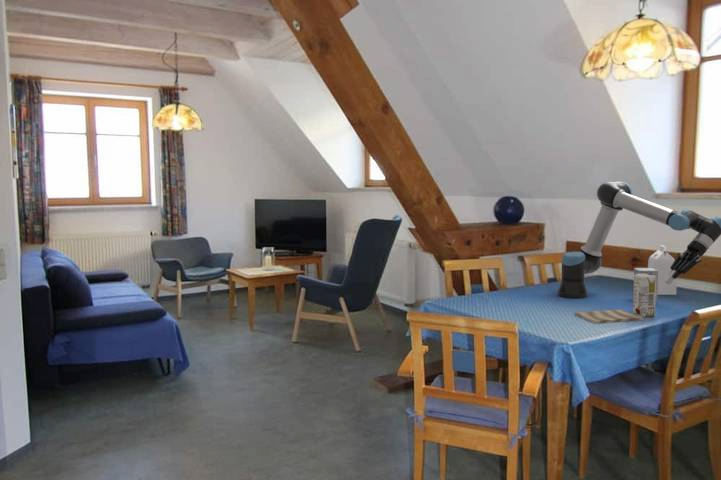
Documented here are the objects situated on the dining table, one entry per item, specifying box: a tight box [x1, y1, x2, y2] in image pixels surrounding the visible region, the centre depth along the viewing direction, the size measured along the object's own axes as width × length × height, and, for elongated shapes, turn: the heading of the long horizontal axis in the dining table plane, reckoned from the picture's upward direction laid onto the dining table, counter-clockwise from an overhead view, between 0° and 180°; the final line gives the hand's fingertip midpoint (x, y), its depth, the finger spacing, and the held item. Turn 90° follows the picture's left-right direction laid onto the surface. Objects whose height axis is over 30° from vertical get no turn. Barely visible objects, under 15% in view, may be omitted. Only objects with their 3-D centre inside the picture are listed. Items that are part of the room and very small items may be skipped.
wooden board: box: [574, 309, 645, 324], centre depth 255 cm, size 24×16×1 cm, turn 100°
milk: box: [647, 244, 677, 296], centre depth 306 cm, size 12×12×26 cm
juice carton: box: [632, 273, 656, 318], centre depth 258 cm, size 8×9×19 cm
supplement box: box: [632, 267, 658, 304], centre depth 286 cm, size 10×9×17 cm
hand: (667, 282), depth 259 cm, fingers closed
